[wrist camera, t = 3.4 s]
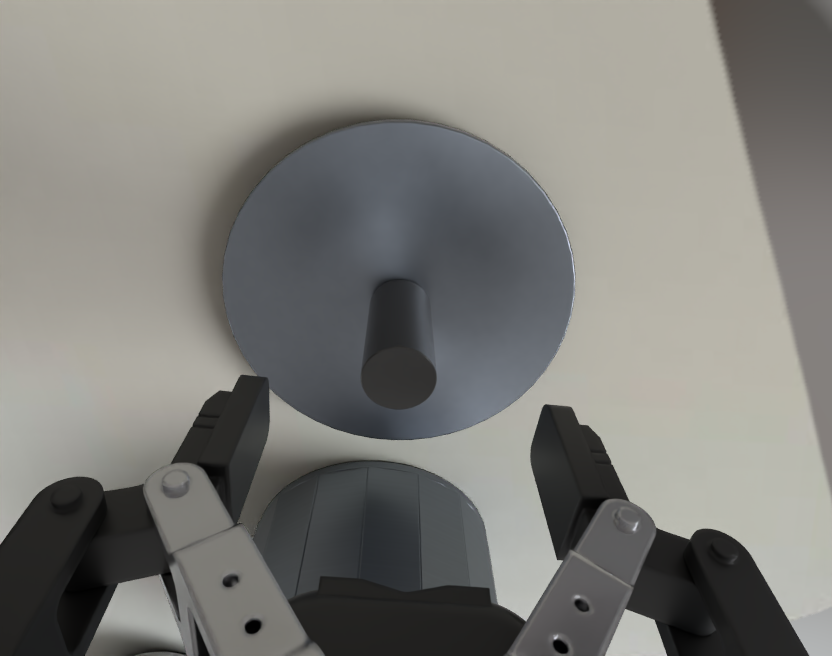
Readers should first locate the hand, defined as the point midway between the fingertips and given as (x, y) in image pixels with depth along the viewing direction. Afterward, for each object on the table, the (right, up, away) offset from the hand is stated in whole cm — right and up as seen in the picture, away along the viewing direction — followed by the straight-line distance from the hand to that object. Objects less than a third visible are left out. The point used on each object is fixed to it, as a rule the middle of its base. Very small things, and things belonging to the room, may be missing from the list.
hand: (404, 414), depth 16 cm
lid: (0, +4, +6) cm, 7 cm away
